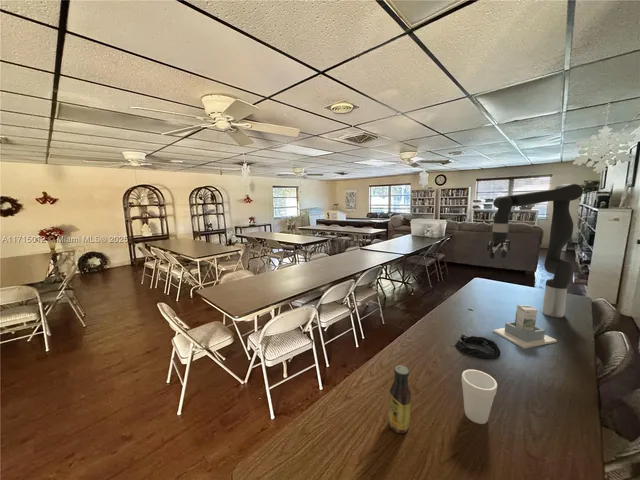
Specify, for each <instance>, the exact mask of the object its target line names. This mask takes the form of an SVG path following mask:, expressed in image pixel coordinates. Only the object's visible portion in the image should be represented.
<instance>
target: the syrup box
mask: <svg viewBox="0 0 640 480" xmlns="http://www.w3.org/2000/svg"><path fill="white" fill-rule="evenodd" d="M537 315H538V310H537V309H536V308H535V307H533V306H531V305H529V304H523V305H522V304H518V305H516V311H515V320H514V321H515V327H517V328H519V329H521V330H524V331H526V332H530V331H534V330H535V326H536V322H537Z"/></svg>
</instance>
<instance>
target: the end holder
mask: <svg viewBox="0 0 640 480" xmlns="http://www.w3.org/2000/svg"><path fill="white" fill-rule="evenodd" d="M492 332H493V333H495V334H497V335H499V336H500V337H503V339H506V340H508V341H509V342H511V343H512V344H515V345H517V346H519V347H520V348H522V349H524V350H525V349H529V348H534V347H540V346H544V345H549V344H553V343H557V341H558V340H557V338H556V339H555V338H553V337H551V336H549V335H546V330H545V329H543V328H541V327H539V326H537V325H535V330H534V331H530V332H526V331H524V330H521V329H519V328H517V327H515V320H514V321H509V322H505V323H504V327H503V328H501V327H500V328H496V329H493V330H492Z"/></svg>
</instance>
